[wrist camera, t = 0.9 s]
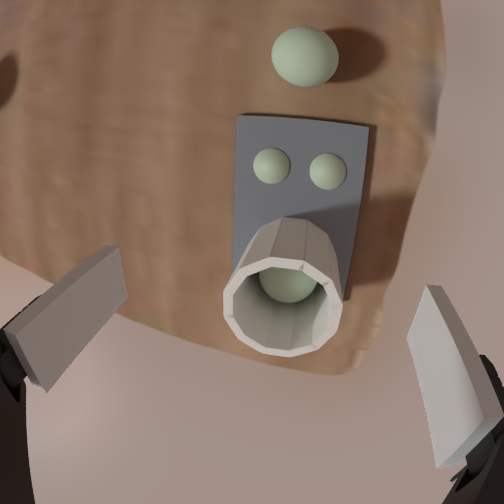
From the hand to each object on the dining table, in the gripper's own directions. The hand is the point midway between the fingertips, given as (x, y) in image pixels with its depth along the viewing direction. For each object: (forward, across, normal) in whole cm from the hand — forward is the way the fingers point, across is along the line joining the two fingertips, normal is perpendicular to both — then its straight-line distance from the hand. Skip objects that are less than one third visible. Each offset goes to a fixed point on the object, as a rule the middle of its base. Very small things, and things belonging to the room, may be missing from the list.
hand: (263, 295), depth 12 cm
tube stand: (+21, 0, -3) cm, 21 cm away
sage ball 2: (+17, 0, -8) cm, 19 cm away
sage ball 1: (+18, 0, +13) cm, 22 cm away
